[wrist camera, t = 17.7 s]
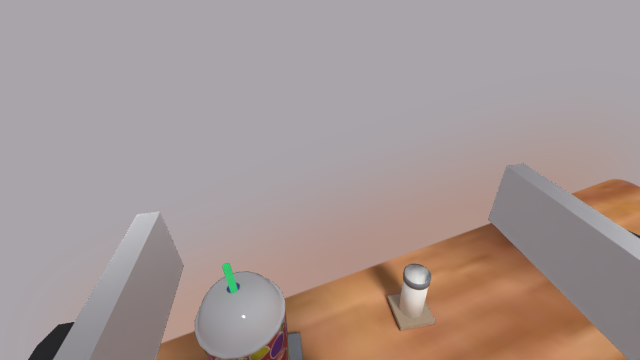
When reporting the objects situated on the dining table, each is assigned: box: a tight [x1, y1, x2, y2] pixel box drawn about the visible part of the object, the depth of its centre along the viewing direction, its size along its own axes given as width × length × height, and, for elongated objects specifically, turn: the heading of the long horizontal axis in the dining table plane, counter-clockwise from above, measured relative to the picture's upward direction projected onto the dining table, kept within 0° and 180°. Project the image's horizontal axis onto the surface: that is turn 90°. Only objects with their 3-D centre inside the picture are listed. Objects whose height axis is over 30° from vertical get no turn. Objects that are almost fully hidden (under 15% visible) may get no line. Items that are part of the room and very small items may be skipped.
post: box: [387, 264, 436, 331], centre depth 40 cm, size 5×5×8 cm
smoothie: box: [195, 263, 290, 360], centre depth 30 cm, size 8×8×20 cm
